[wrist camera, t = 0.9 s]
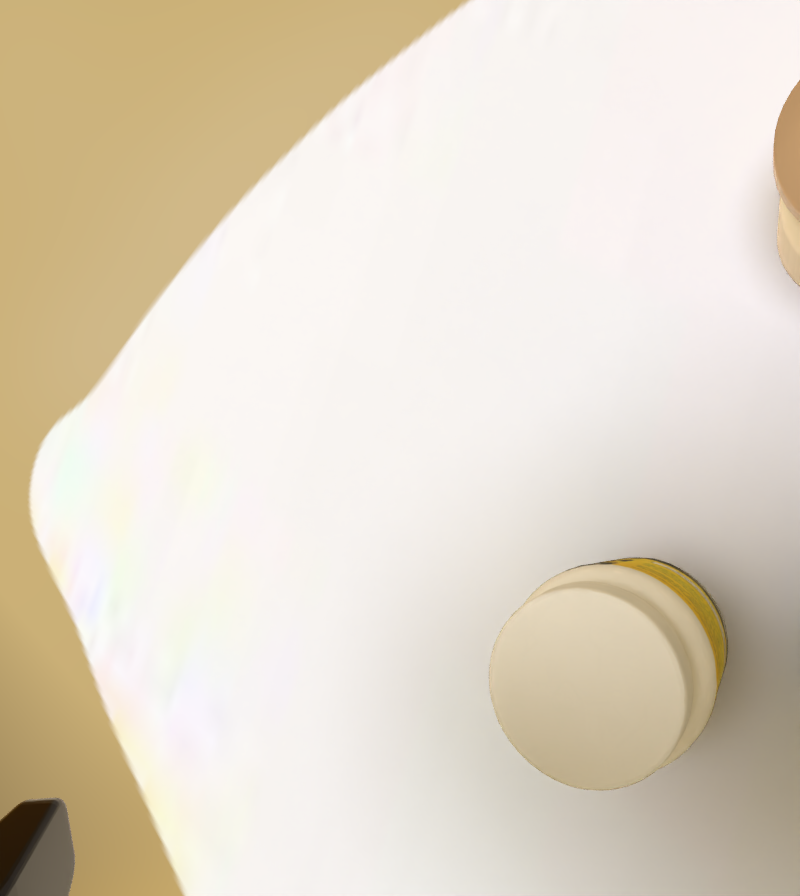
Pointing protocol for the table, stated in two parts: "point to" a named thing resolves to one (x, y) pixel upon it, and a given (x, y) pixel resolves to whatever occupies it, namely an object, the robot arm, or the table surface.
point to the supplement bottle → (609, 671)
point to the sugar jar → (789, 183)
